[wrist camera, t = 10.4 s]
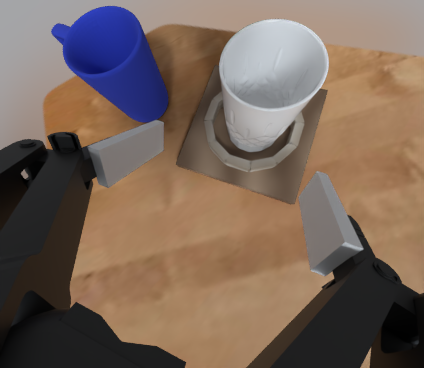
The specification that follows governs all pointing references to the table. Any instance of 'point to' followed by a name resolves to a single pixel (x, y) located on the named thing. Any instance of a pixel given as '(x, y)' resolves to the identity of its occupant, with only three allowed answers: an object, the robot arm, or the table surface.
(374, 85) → the table surface
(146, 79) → the mug
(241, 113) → the white cup
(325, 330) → the robot arm
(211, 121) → the brown flat ringed piece
